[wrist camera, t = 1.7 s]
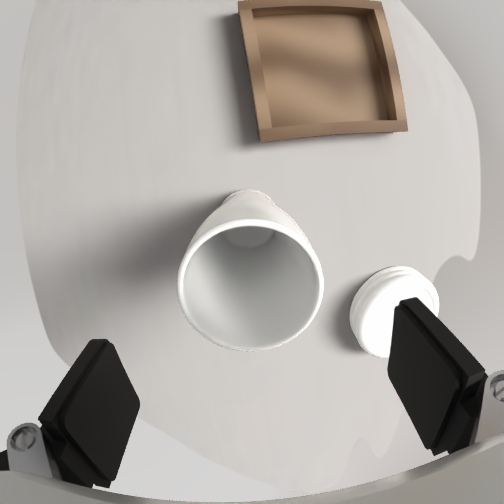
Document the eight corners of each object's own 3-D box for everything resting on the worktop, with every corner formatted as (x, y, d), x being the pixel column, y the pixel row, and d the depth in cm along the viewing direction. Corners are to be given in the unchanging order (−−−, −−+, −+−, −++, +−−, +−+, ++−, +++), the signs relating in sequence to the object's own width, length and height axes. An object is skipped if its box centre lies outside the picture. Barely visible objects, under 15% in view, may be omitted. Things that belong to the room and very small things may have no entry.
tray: (238, 12, 21) (237, 1, 19) (371, 10, 21) (381, 1, 18) (259, 142, 25) (261, 141, 23) (395, 131, 25) (407, 131, 23)
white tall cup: (196, 204, 27) (144, 267, 13) (262, 166, 26) (281, 187, 12) (235, 265, 29) (226, 372, 15) (298, 230, 28) (348, 314, 14)
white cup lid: (369, 356, 34) (379, 374, 30) (331, 301, 31) (340, 318, 27) (435, 308, 32) (449, 323, 28) (408, 246, 29) (424, 257, 26)
